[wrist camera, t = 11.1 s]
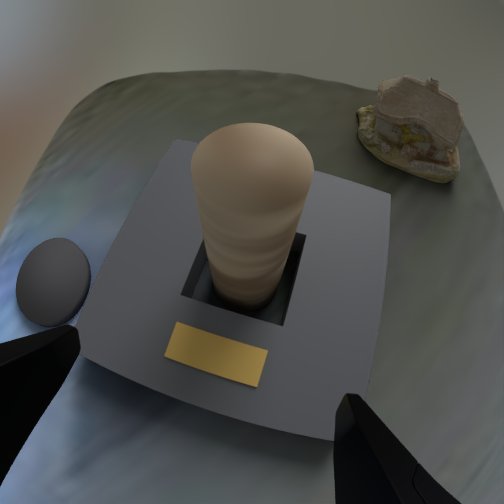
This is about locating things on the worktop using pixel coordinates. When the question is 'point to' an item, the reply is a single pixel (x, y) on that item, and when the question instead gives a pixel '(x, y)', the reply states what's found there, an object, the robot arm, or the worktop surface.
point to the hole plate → (237, 325)
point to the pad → (53, 282)
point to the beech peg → (249, 207)
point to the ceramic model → (414, 128)
